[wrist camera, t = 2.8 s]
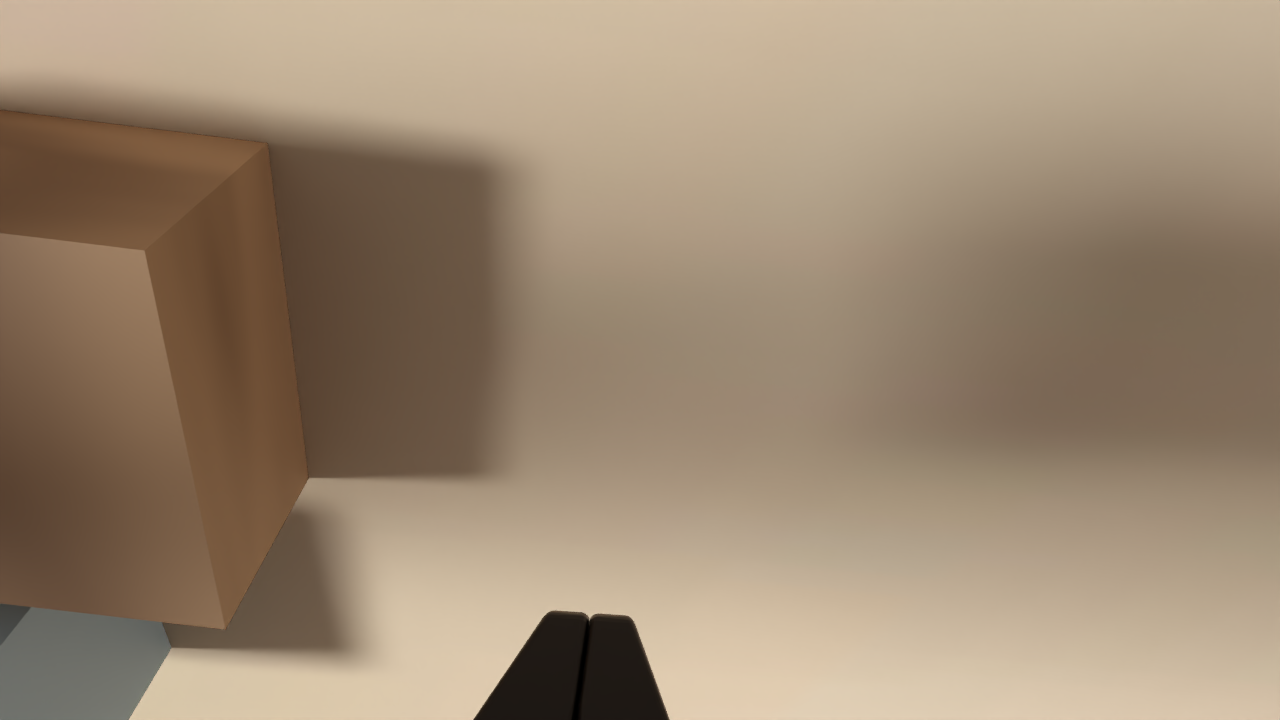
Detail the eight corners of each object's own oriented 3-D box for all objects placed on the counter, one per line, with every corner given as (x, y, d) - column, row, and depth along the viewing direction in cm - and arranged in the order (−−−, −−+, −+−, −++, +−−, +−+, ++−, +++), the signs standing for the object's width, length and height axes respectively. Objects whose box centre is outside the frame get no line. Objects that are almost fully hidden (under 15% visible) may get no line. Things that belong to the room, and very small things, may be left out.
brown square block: (-33, 428, 16) (-201, 580, 13) (-166, 82, 12) (-433, 179, 9) (313, 469, 16) (225, 629, 13) (274, 137, 12) (143, 250, 10)
